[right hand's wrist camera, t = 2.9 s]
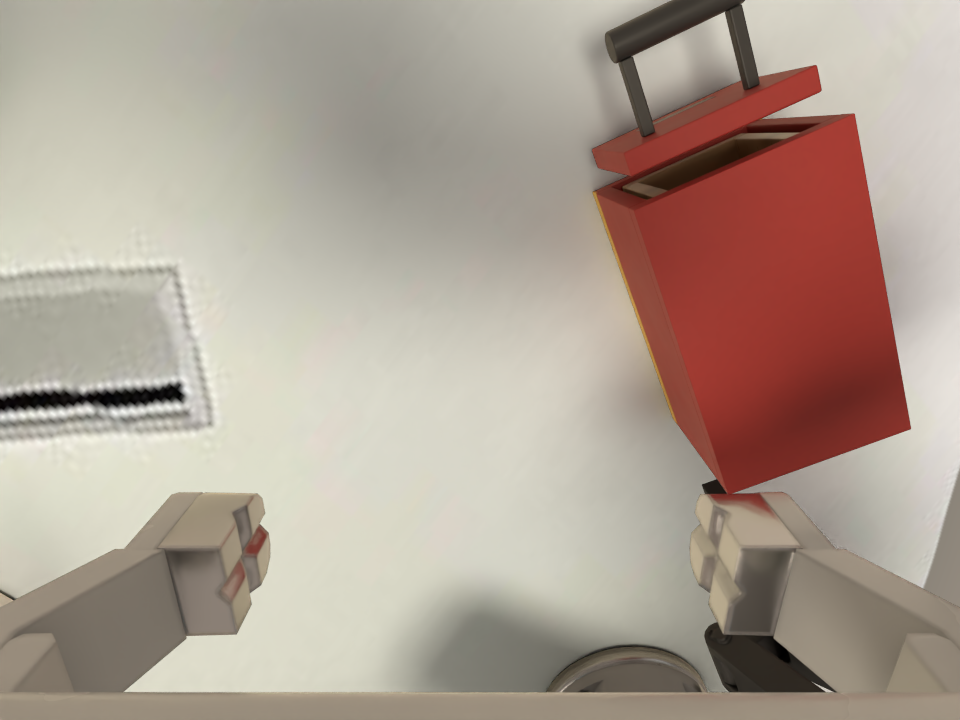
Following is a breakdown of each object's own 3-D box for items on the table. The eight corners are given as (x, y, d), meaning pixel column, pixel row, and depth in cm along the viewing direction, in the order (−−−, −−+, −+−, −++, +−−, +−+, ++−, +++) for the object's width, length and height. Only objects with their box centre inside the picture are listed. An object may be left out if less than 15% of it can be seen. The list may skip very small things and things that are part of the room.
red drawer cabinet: (592, 191, 35) (633, 210, 26) (754, 118, 34) (855, 112, 25) (672, 418, 41) (728, 495, 32) (813, 364, 40) (911, 429, 31)
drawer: (560, 60, 32) (586, 38, 25) (718, -17, 31) (793, -63, 23) (670, 377, 39) (714, 430, 32) (801, 325, 38) (877, 368, 31)
